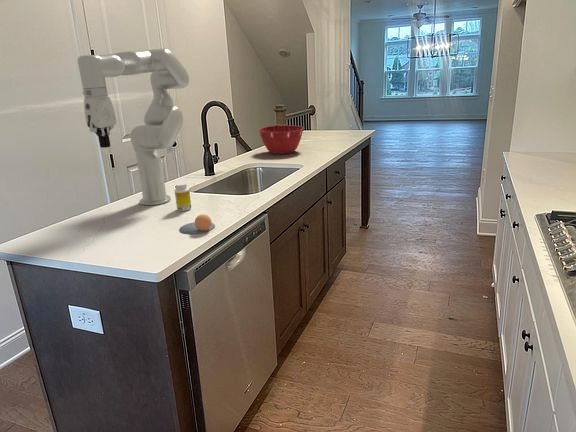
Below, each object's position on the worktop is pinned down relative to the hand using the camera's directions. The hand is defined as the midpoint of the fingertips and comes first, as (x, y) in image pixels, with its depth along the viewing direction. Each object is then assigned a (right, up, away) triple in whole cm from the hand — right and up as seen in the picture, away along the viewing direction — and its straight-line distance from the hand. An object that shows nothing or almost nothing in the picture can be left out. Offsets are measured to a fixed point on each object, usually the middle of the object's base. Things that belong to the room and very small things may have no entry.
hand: (105, 147), depth 156 cm
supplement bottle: (+24, -22, +16) cm, 37 cm away
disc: (+34, -29, -6) cm, 45 cm away
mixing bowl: (+61, +16, +125) cm, 140 cm away
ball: (+36, -27, -9) cm, 46 cm away
